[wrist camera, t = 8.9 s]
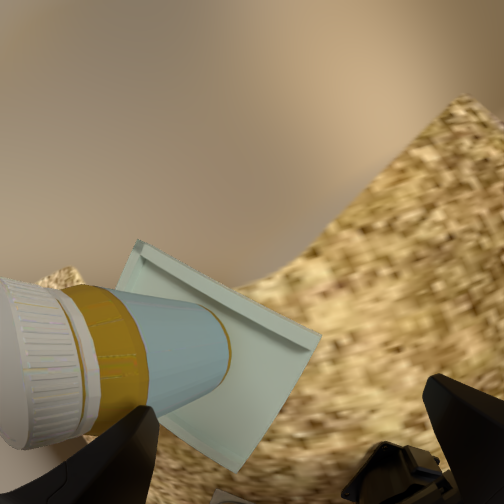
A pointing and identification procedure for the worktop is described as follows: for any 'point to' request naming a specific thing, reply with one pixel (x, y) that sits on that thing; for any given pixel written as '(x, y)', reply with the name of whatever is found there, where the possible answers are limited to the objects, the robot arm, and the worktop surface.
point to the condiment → (227, 498)
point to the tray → (242, 362)
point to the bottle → (99, 359)
